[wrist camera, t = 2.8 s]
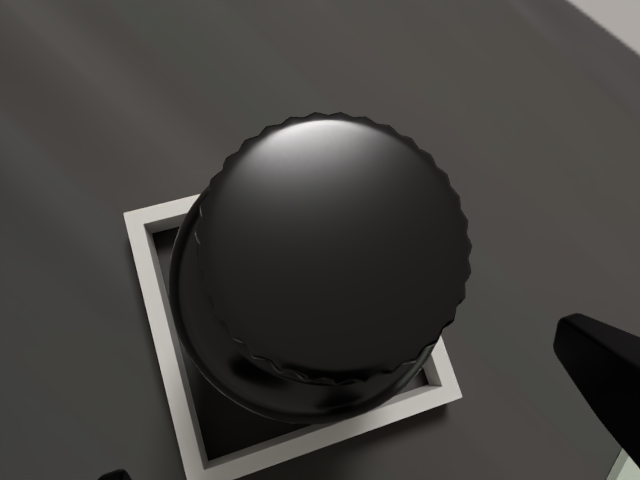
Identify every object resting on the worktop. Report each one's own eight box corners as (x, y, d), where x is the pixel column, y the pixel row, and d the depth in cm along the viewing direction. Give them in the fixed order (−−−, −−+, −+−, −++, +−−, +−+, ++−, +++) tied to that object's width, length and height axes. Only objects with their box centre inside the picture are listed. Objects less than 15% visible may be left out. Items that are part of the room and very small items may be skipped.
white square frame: (447, 394, 20) (462, 397, 18) (196, 483, 18) (190, 495, 16) (368, 164, 21) (376, 150, 20) (133, 223, 20) (123, 213, 18)
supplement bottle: (368, 403, 19) (536, 479, 8) (192, 391, 18) (81, 454, 7) (376, 235, 21) (524, 85, 9) (215, 218, 20) (155, 34, 9)
